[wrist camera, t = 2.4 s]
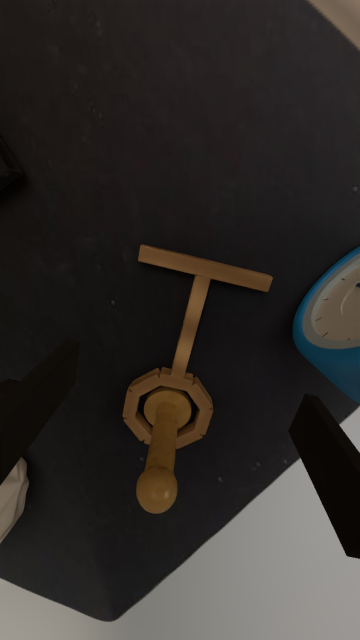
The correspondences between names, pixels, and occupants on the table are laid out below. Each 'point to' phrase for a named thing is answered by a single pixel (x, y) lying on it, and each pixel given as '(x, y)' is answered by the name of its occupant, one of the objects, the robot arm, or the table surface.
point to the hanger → (185, 341)
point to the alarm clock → (333, 324)
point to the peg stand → (162, 448)
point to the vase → (13, 497)
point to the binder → (8, 167)
